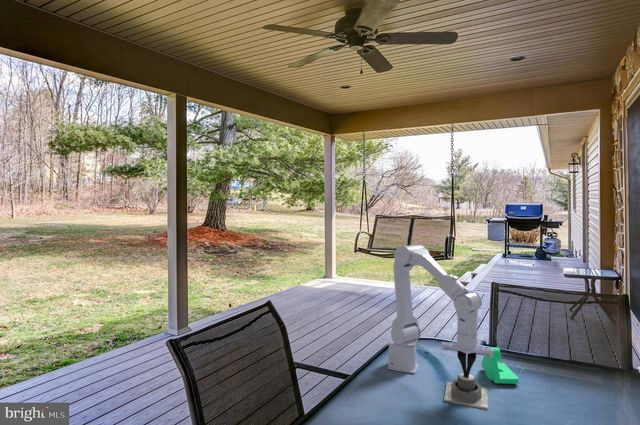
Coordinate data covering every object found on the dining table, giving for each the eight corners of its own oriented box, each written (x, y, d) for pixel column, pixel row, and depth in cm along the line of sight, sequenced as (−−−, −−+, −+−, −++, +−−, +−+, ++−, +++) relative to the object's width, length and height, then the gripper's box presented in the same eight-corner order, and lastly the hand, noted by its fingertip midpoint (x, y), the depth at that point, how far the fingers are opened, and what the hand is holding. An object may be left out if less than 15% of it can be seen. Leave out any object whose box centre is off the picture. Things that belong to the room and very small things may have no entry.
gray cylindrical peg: (457, 395, 117) (457, 378, 117) (457, 388, 122) (457, 371, 122) (475, 399, 115) (475, 381, 115) (474, 391, 120) (475, 374, 120)
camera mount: (519, 387, 124) (520, 355, 124) (495, 386, 125) (495, 355, 124) (503, 370, 136) (504, 341, 136) (481, 369, 137) (482, 341, 136)
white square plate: (444, 401, 115) (444, 391, 115) (446, 383, 126) (447, 373, 126) (488, 409, 111) (488, 398, 111) (487, 390, 122) (487, 380, 122)
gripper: (441, 333, 117) (440, 377, 117) (493, 340, 111) (492, 386, 112) (443, 325, 123) (442, 367, 124) (492, 332, 118) (491, 375, 118)
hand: (466, 376), depth 118 cm, fingers closed
